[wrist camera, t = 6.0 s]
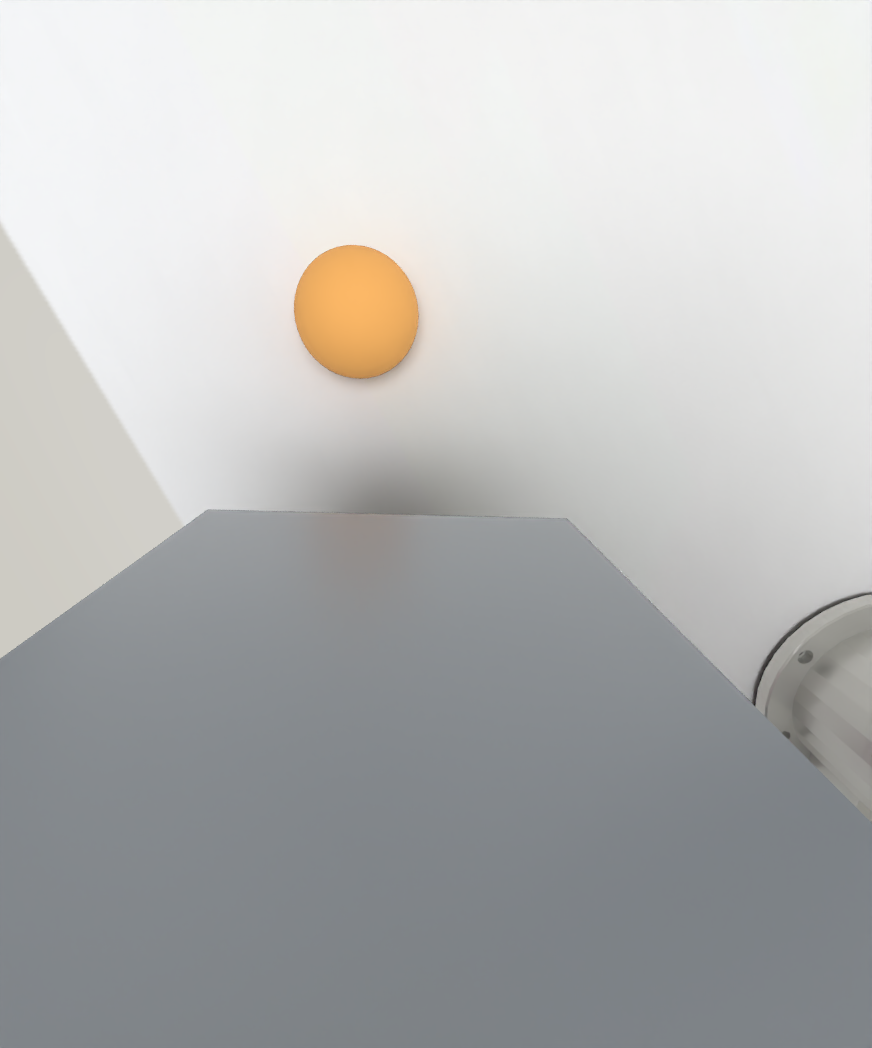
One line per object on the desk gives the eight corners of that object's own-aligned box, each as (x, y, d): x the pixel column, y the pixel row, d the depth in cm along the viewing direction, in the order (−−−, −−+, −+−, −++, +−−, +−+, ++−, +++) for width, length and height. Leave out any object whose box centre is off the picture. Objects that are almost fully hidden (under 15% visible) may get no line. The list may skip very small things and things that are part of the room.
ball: (418, 377, 23) (418, 381, 19) (312, 376, 23) (285, 379, 18) (418, 260, 22) (418, 231, 17) (305, 258, 22) (273, 227, 17)
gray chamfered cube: (531, 792, 13) (739, 1536, 5) (238, 794, 13) (-95, 1621, 4) (566, 518, 11) (1102, 1053, 2) (208, 509, 10) (-650, 1126, 2)
